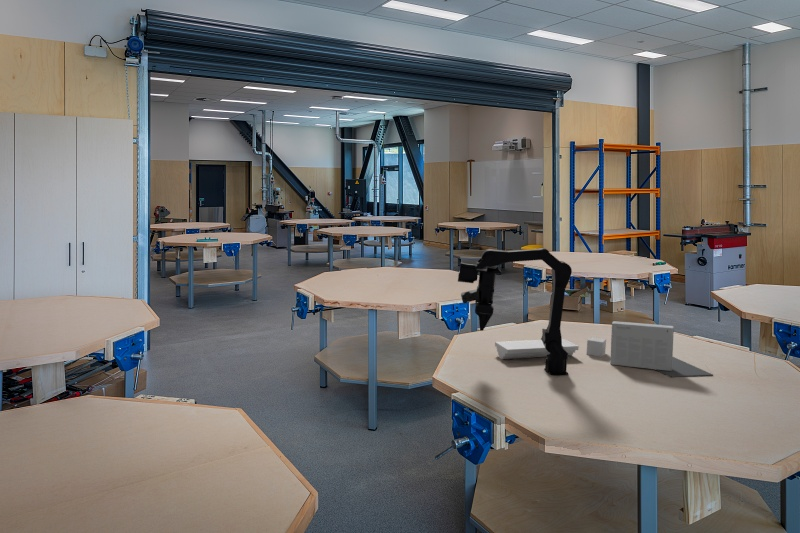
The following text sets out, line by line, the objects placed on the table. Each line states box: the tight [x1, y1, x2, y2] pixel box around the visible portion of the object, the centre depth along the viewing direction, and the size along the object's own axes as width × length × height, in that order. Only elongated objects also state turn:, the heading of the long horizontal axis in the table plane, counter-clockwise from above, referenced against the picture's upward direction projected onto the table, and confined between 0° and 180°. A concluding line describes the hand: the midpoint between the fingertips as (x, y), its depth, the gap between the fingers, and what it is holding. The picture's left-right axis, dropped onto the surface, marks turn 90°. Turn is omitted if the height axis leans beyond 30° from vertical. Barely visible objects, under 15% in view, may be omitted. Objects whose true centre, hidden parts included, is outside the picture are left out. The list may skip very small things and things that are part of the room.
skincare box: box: [610, 320, 675, 371], centre depth 210 cm, size 21×6×16 cm, turn 65°
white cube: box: [586, 336, 607, 358], centre depth 227 cm, size 6×6×6 cm
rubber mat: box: [654, 356, 714, 378], centre depth 213 cm, size 17×25×1 cm
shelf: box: [494, 338, 580, 360], centre depth 221 cm, size 12×30×5 cm, turn 105°
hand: (481, 327), depth 203 cm, fingers open, 9 cm apart
